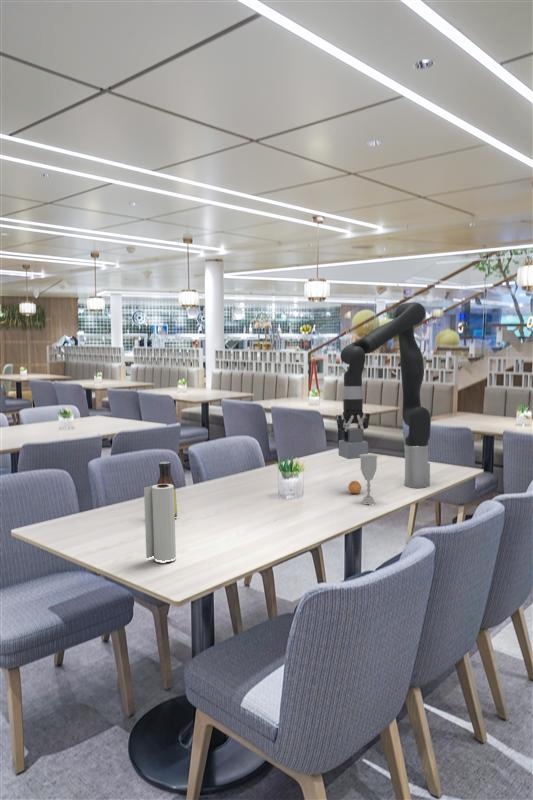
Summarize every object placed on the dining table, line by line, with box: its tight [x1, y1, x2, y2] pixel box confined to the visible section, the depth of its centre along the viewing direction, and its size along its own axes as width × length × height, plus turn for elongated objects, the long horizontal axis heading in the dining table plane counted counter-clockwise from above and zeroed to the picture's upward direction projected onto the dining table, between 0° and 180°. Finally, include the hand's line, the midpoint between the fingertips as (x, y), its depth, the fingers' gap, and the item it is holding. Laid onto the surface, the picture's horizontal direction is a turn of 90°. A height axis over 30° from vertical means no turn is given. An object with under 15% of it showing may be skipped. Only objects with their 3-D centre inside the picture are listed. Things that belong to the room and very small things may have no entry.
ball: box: [347, 480, 362, 495], centre depth 245 cm, size 5×5×5 cm
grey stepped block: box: [338, 426, 369, 460], centre depth 243 cm, size 9×9×11 cm
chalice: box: [359, 453, 378, 506], centre depth 230 cm, size 7×7×18 cm
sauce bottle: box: [156, 461, 178, 518], centre depth 213 cm, size 7×6×20 cm
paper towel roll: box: [143, 484, 177, 561], centre depth 173 cm, size 7×6×21 cm
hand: (353, 440), depth 243 cm, fingers closed on grey stepped block, 5 cm apart
